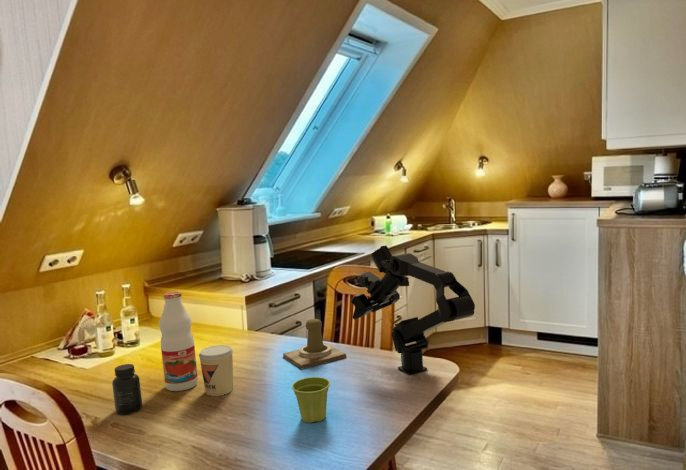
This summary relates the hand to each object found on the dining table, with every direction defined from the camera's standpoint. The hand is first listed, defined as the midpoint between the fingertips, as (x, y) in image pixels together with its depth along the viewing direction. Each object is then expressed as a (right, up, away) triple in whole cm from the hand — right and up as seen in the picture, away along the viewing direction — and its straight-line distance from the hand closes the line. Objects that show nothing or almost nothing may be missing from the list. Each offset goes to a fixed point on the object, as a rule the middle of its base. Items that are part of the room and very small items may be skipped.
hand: (362, 314), depth 176 cm
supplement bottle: (-64, -22, -28) cm, 73 cm away
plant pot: (-14, -20, -40) cm, 47 cm away
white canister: (-42, -19, -19) cm, 50 cm away
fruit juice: (-54, -19, -13) cm, 59 cm away
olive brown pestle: (-15, -13, +5) cm, 21 cm away
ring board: (-16, -14, +3) cm, 21 cm away
